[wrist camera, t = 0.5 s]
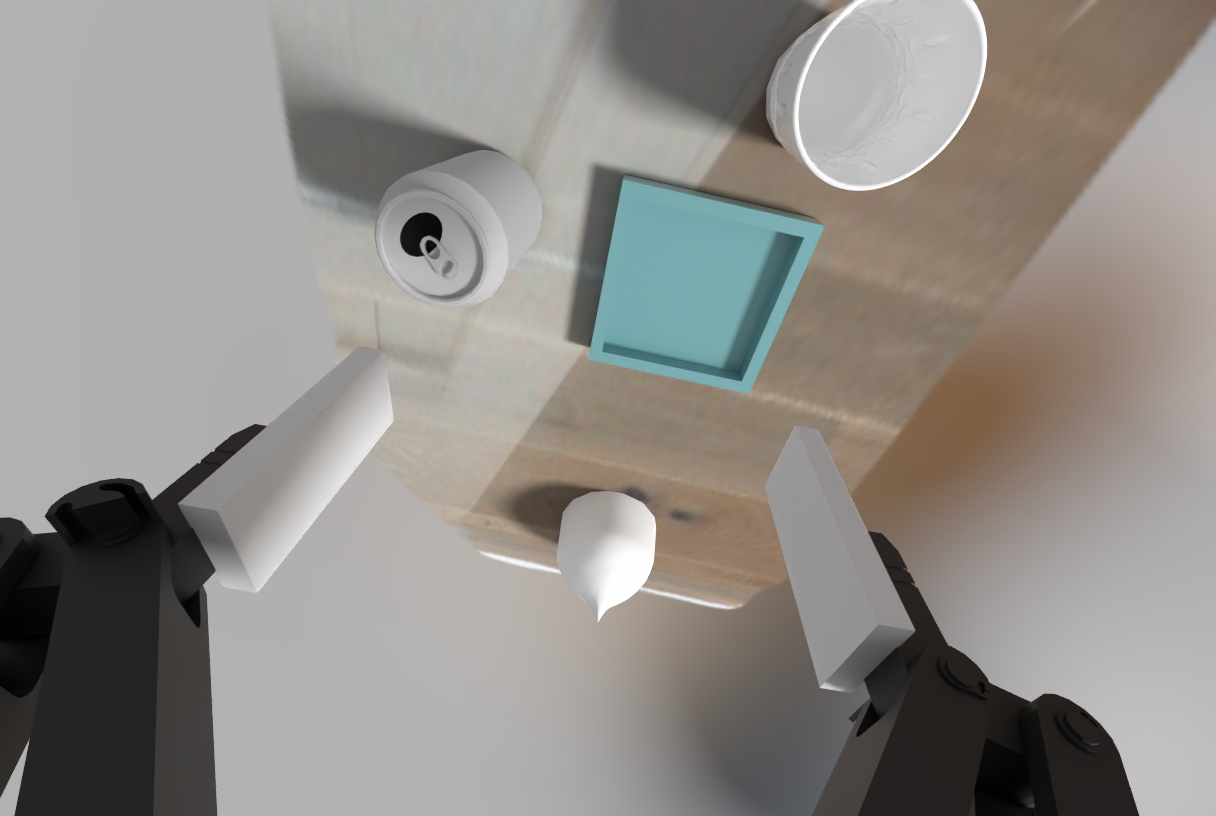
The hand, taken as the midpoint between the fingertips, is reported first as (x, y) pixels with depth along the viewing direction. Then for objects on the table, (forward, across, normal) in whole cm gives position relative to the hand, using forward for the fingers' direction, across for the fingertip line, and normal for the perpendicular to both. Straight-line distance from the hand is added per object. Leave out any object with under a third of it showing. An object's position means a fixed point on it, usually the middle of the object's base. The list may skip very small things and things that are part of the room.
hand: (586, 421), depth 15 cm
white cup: (+24, +10, +11) cm, 28 cm away
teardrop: (+24, +4, -32) cm, 41 cm away
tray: (+24, +6, -3) cm, 25 cm away
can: (+24, -10, 0) cm, 26 cm away
